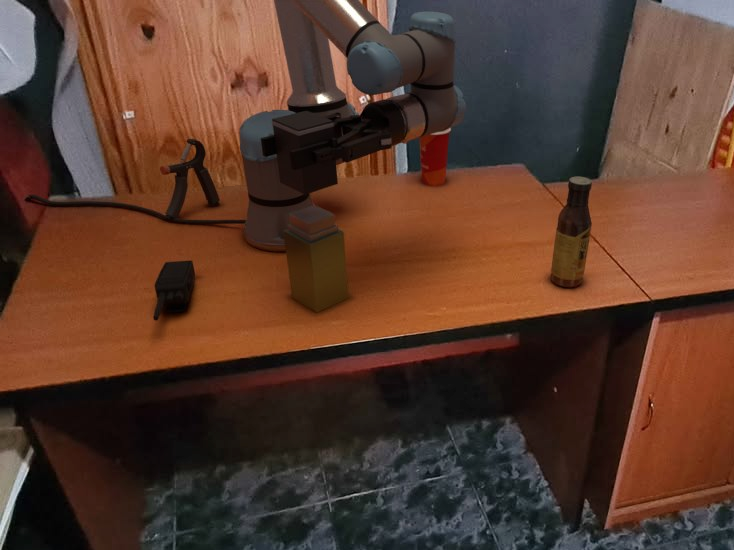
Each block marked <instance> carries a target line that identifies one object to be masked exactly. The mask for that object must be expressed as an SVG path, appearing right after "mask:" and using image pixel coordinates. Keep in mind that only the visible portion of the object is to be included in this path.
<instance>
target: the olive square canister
mask: <svg viewBox="0 0 734 550" xmlns="http://www.w3.org/2000/svg"><path fill="white" fill-rule="evenodd" d="M289 217H290V224H289V225H288V229H286V230H283V232H284V240H285V248H286V251H285V255H286V263H287V270H288V271H287V272H288V278H289V288H290V293H291V298H292V299H293V300H295V301H297V302H298V303H300V304H302V305H303V306H305V307H306V308H308V309H309V310H311V311H313V312H314V313H317V314H318V313H319V312H322V311H324V310H327V309H328V308H330V307H333V306H334V305H337V304H339V303H341V302H343V301H345V300H347V299H349V288H348V287H349V285H348V273H347V258H346V245H345V231H344V230H341V229H340V228H339V226H338V225H337V224H336V215H335V214H334V213H333V212H330V211H328V210H327V209H324V208H323V207H320V206H318V205H316V204H313V206H310V207H307V208H304V209H301V210H298V211H295V212H293V213H290V214H289Z"/></svg>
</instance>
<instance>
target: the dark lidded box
mask: <svg viewBox="0 0 734 550" xmlns="http://www.w3.org/2000/svg"><path fill="white" fill-rule="evenodd" d="M272 125H273V131H274V139H275V147H276V155H277V162H278V170H279V178H280V183H282V184H284V185H286V186H288V187H290V188H292V189H294V190H296V191H298V192H300V193H302V194H305V195H306V194H309V193H310V194H312V193H315V192H318V191H321V190H324V189H327V188H329V187H333V186H337V185H338V184H339V181H338V169H337V165H336V160H332V158H331V159H330V160H327V161H323V162H320V163H317V164H314V165H310V166H307V167H304V168H300V169H297V170H293V169H291V160H290V152H289V151H290V150H294V149H298V148H301V147H305V146H309V145H312V144H316V143H319V142H323V141H327V142H328V144H329V146H331V145H330V137H331V139H332V138H334V123H333V121H332V120H330V119H327V118H324V117H322V116H319V115H317V114H314V113H312V112H309V111H303V112H299V113H295V114H290V115H286V116H282V117H278V118H274V119H272Z"/></svg>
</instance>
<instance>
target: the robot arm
mask: <svg viewBox="0 0 734 550" xmlns="http://www.w3.org/2000/svg"><path fill="white" fill-rule="evenodd" d="M273 3H274V9H275V12H276V18H277V22H278V27H279V33H280V37H281V42H282V47H283V52H284V57H285V61H286V66H287V72H288V75H289V80H290V85H291V90H292V92H291V94H290V95H289V97H288V99H287V100H286V105H287V109H271V111H268V110H264V111H260V112H257V113H255V114H253V115H251V116H249V117H248V118H246V119H245V120H244V121H243V122H242V123H241V125H240V127H239V134H238V135H239V152H240V155H241V158H242V164H243V171H244V176H245V183H246V190H247V194H248V206H247V212H246V219H186V218H178V217H177V218H172V220H170V219H168V218H166V217H165V216H166V214H163V213H161V212H159V211H156V210H153V209H151V208H146V207H143V206H139V205H134V204H130V203H124V202H123V203H122V202H116V201H115V202H113V201H96V200H95V201H93V200H87V201H86V200H83V201H82V200H79V201H76V200H75V201H53V200H49V199H45V198H44V197H41V196H39V195H36V194H28V196H29V197H30V198H29V197H27V196H26V197H25V198H24V202H30V201H31V200H33V199H34V200H36V201H38V202H41V203H43V204H46V205H48V206H56V207H58V206H59V207H61V206H62V207H63V206H65V207H69V206H106V207H107V206H108V207H117V208H118V207H119V208H126V209H130V210H131V209H132V210H136V211H139V212H143V213H146V214H147V213H148V214H150V215H153V216H156V217H158V218H161V219H162V220H166V221H168V222H173V223H178V224H190V225H191V224H193V225H232V224H233V225H236V224H238V225H244V226H243V233H244V238H245V241H246V242H247V244H249V246H252V247H253V248H256V249H258V250H262V251H266V252H276V253H278V252H280V253H281V252H283V253H284V252H286V248H285V240H284V232H283V230H286V229H288V225H289V224H290V217H289V214H290V213H293V212H295V211H298V210H301V209H304V208H307V207H310V206H313V205H314V202H313V200H312V199H311V193H309V194H306V195H305V194H302V193H300V192H298V191H296V190H294V189H292V188H290V187H288V186H286V185H284V184H282V183H280V178H279V170H278V162H277V155H276V147H275V139H274V131H273V125H272V119H274V118H278V117H282V116H286V115H290V114H295V113H299V112H303V111H309V112H312V113H314V114H317V115H319V116H322V117H324V118H327V119H330V120H332V121H333V123H334V138H332V139H331V137H330V145H331V146H329V144H328V142H327V141H323V142H319V143H316V144H312V145H309V146H305V147H301V148H298V149H294V150H290V151H289V152H290V160H291V169H293V170H297V169H300V168H304V167H307V166H310V165H314V164H317V163H320V162H323V161H327V160H330V159H331V158H332V160H336V166H338V165H341V164H344V163H350V162H353V161H355V160H359V159H361V158H364V157H366V156H368V155H372V154H375V153H377V152H380V151H385V150H390V149H391V150H392V147H395V146H397V145H399V144H403V145H405V144H407V143H408V142H409V141H413V140H416V139H419V138H420V137H422V136H426V135H429V134H433V133H436V132H442V131H445V130H447V129H449V128H451V129H452V128H454V127H455V126H458V125H459V124H461V122H462V121H463V120H464V117H465V115H466V111H467V103H466V102H465V99H464V94H463V92H462V90H461V89H460V88H459V87H458V86H457V85H455V84H454V79H455V78H454V77H455V55H456V53H455V51H456V37H455V34H456V33H455V20H454V18H453V17H452V16H451V15H450V14H447V13H444V12H440V11H439V12H438V11H418V12H414V13H413V14H412V15H411V16H410V18H409V26H408V31H406V32H402V33H398V34H394V35H393V34H392V33H391V32H389V30H388V29H387V28H386V27H385V26H384V25H383V24H382V23H381V22H380V21H379V20H378V19H377V18H376V17H375V16H374V15H373V13H371V12H370V11H369V10H368V9H367V7H366V6H365V5H364V4H363V3H362V2H361V1H360V0H273ZM330 42H331V43H332V44H333V45H334V46H335V47H336V48H337V49H338V50H339V51H340V53H341V54H342V55H343V56H344V57H345V58H346V71H347V75H348V76H349V77H350V80H351V84H352V85H353V87H354V88H355V89H356V90H358V91H359V92H361V93H362V94H364V95H368V96H377V95H382V94H388V93H392V92H393V91H396V90H397V89H399V88H402V87H404V86H407V85H410V92H408V93H402V94H397V95H395V96H391V97H390V96H389V97H388V98H385V99H384V98H383V99H380V100H376V101H372V102H369V103H367V104H366V105H365V106H364V107H363V109H362V110H361V113H360V112H357V111H356V107H355V106H353V104H351V103H350V102H348V100H347V94H346V92H344V91H342V90H341V88H339V87H338V85H337V81H336V80H337V79H336V76H335V75H336V74H335V70H334V62H333V58H332V57H333V56H332V52H331V47H330V45H331V44H330Z"/></svg>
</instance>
